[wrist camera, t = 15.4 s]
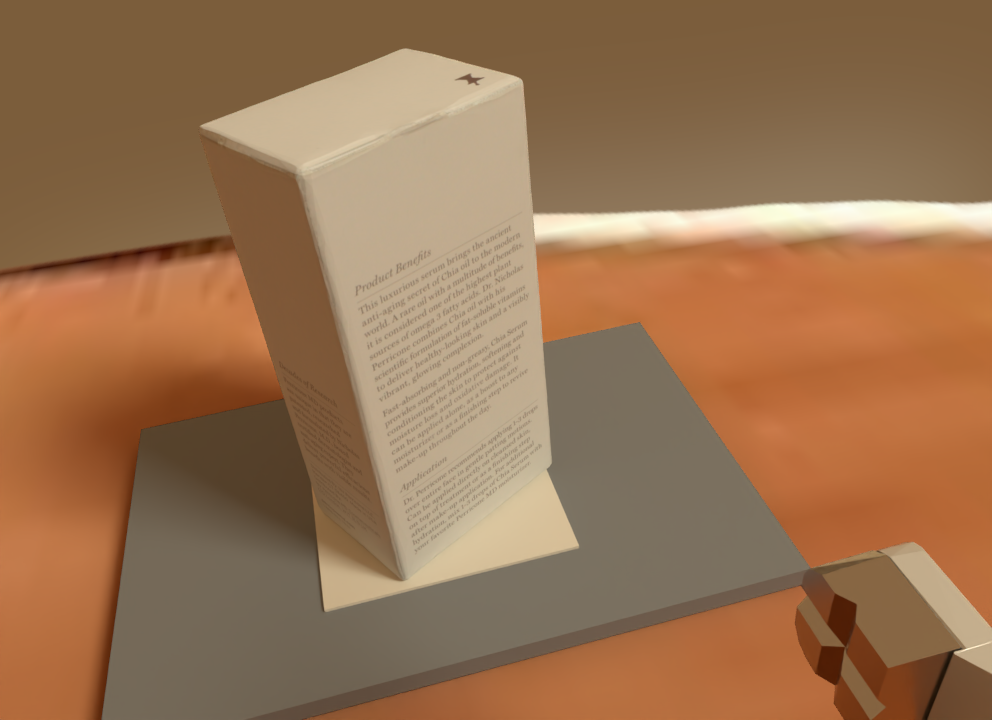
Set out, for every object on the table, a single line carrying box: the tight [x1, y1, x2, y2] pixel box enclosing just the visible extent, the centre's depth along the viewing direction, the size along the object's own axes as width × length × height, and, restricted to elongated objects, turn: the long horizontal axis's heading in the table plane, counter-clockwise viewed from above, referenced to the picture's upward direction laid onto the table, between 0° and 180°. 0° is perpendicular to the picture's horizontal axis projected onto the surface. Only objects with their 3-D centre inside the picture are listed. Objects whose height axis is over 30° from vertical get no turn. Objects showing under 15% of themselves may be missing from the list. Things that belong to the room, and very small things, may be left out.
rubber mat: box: [102, 322, 810, 720], centre depth 26 cm, size 18×12×1 cm, turn 104°
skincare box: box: [199, 49, 552, 580], centre depth 22 cm, size 6×4×12 cm
